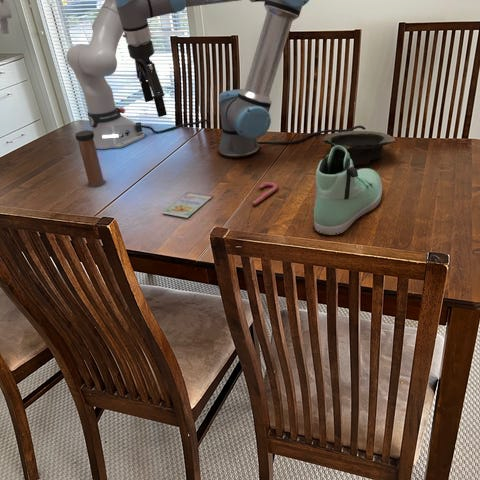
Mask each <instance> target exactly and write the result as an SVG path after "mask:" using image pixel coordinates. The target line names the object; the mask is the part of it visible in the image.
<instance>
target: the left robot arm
mask: <svg viewBox="0 0 480 480" xmlns="http://www.w3.org/2000/svg"><path fill="white" fill-rule="evenodd" d="M12 15H13V14H12V10H11V8H10V5H9V1H8V0H0V31H1V34H3V35H7V34H9V33H10V30H9V25H8V24H9V21H8V19H12ZM91 31H92V36H91V39H90V42H89V43H88V44H85V43H79V44H75V45H72V46H71V47H69V48H68V50H67V52H66V56H65V57H66V58H65V59H66V62H67V64H68V67H70V68H71V70H72V71H73V73H74V75H75V78H76V80H77V81H78V83H79V86H80V88H81V90H82V93H83V96H84V100H85V104H86V109H87V118H88V122H89V125H90V127H91V128H90V129H91V131H93V133H94V142H95V146H96V150H97V149H98V150H107V149H121V148H122V149H123V148H124V147H127V146H128V145H131V144H132V143H135V142H137V141H139V140H141V139H143V138H145V137H146V135H145V133H144V131H143V129H149V130H150V131H151V132H152V133H154V134H163V133H166V132H169V131H173V130H175V129H178V128H182V127H187V126H188V127H189V126H194V125H199V124H201V123H204V122H205V123H208V124H209V123H211V121H210V120H209V119H206V118H205V119H201V120H199V121H195V122H186V123H181V124H177V125H175V126H172V127H169V128H165V129H163V130H155V129H154V128H153V127H151V126H149V125H143V124H142V122H141V121H139V122H134V121H133V120H131V119H129V118H127V117H125V116H123V115H122V114H125V112H126V109H125V108H124V107H123V108H122V107H117V106H116V103H115V97H114V94H113V89H112V87H111V85H110V84H109V83H108V82H107V79H106V77H109V76H112V75H114V73H115V72H116V70H117V68H118V60H117V57H116V54H117V49H118V46H119V43H120V40H121V39H122V37H123V34H124V31H123V28H122V24H121V21H120V17H119V13H118V10H117V6H116V1H115V0H104V2H103V4H102V6H101V7H100V9H99V11H98V13H97V15H96V17H95V19H94V21H93V22H92V24H91Z"/></svg>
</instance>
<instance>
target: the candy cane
mask: <svg viewBox="0 0 480 480" xmlns="http://www.w3.org/2000/svg"><path fill="white" fill-rule="evenodd" d="M267 187H271V188H269V190H267V191H266V192H264V193H262V195H260V196H259V197H257V198H256V199H255V200H253V201H252V205H253V206H257V205H258V204H260V203H261V202H262V201H264V200H265V199H266V198H268V197H269V196H271V195H272V194H274V193H276V191H277V190H278V189H279V185H278V184H277V183H275V182H272V181H266V182H263V183H262V182H261V184H260V185H259V186H258V188H259V190H263V189H264V188H267Z"/></svg>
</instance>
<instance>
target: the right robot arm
mask: <svg viewBox="0 0 480 480" xmlns="http://www.w3.org/2000/svg"><path fill="white" fill-rule="evenodd" d="M115 1H116V6H117V10H118V13H119V17H120V21H121V24H122V28H123V31H124V32H123V34H122V38H125V42H126V44H127V51H128V54H129V57H130V58H131V59H132V60H134V65H135V71H136V78H137V79H138V82H139V83H140V86H141V90H142V95H143V98H144V102H145V103H149V102H151V101H153V102H154V104H155V109H156V113H157V117H158V118H161V117H164V116H167V115H168V113H167V110H166V104H165V101H164V97H165V92H164V90H163V87H162V84H161V81H160V79H159V76H158V73H157V69H156V64H155V63H154V62H153V61H152V60H151V59H150V58H151V57H152V56H153V55H155V49H154V48H155V47H154V43H153V40H152V34H151V30H150V25H149V22H148V19H153V18H157V17H160V16H165V15H171V14H177V13H178V12H182V11H185V9H186V8H192V7H198V6H206V5H214V4H215V5H216V4H222V3H230V2H231V3H232V2H238V1H241V0H115ZM249 1H250V3H260V2H261V3H264V4H263V7H264V9H265V12H266V13H265V18H264V21H263V24H262V28H261V31H260V34H259V38H258V41H257V45H256V49H255V52H254V55H253V58H252V61H251V65H250V69H249V72H248V74H247V75H248V76H247V79H246V83H245V85H244V87H243V88H237V89H230V90H225V91H222V92H221V93H220V94H219V96H218V98H219V99H218V104H219V112H220V123H221V133H222V134H221V137H220V143H219V145H218V152H219V155H220V156H222V158H223V157H224V158H227V159H237V160H238V159H246V158H250V157H253V156H255V155H256V154H258V153H259V152H260V145H290V144H298V143H301V142H304V141H305V140H306V139H308V138H310V137H313V136H317V135H320V134H325V133H337V132H344V131H345V132H348V131H355V130H357V129H362V130H363V131H366V127H365V126H364V125H356V126H352V127H350V128H345V129H344V128H343V129H323V130H319V131H315V132H312V133H308V134H307V135H305V136H303V137H302V138H299V139H296V140H289V141H258V139H260V138H261V137H263V136H264V135H265V134H266V133H267V132H268V130H269V129H270V126H271V123H272V121H271V120H272V119H271V115H270V109H271V106H272V99H271V98H270V94H271V90H272V87H273V85H274V82H275V78H276V75H277V72H278V69H279V65H280V63H281V59H282V56H283V53H284V51H285V50H284V49H285V46H286V43H287V39H288V37H289V33H290V31H291V27H292V24H293V21H295V20H297V19H298V18H300V15H301V12H302V9H303V7H304V6H306V5H307V4H308V3H309V1H310V0H249Z"/></svg>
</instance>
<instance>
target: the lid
mask: <svg viewBox="0 0 480 480" xmlns="http://www.w3.org/2000/svg"><path fill="white" fill-rule="evenodd" d="M92 138H94V133H93V131H92V129H91V130H89V129H85V130H80V131H78V132H76V133H75V139H76V141H77V142H78V141H86V140H90V139H92Z"/></svg>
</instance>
